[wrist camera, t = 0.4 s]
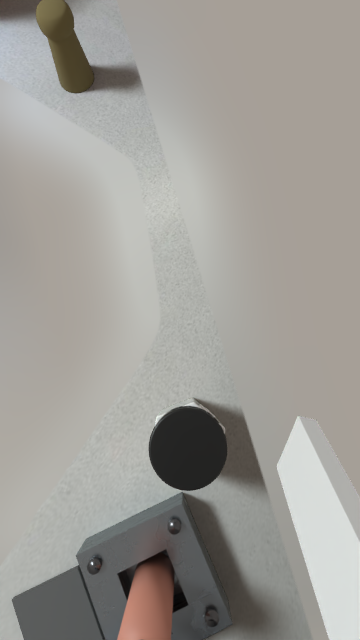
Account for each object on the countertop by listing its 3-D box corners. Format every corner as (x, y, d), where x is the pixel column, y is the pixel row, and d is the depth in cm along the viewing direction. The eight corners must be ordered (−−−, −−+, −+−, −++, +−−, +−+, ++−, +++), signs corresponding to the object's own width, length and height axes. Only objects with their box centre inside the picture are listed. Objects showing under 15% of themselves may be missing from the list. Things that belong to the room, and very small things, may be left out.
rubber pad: (104, 638, 40) (103, 642, 39) (37, 672, 39) (35, 676, 39) (79, 565, 41) (77, 567, 41) (14, 596, 41) (11, 600, 40)
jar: (230, 427, 44) (247, 445, 32) (194, 475, 43) (197, 512, 31) (181, 385, 45) (179, 388, 34) (144, 431, 44) (129, 451, 32)
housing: (227, 600, 40) (233, 628, 36) (127, 652, 40) (119, 687, 35) (182, 492, 43) (181, 505, 38) (86, 538, 42) (74, 558, 37)
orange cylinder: (181, 585, 40) (178, 680, 27) (144, 603, 40) (125, 708, 27) (164, 544, 41) (155, 619, 28) (129, 562, 40) (103, 645, 28)
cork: (101, 75, 55) (80, 1, 44) (78, 99, 54) (51, 29, 44) (75, 57, 56) (49, -19, 45) (52, 80, 55) (19, 8, 44)
